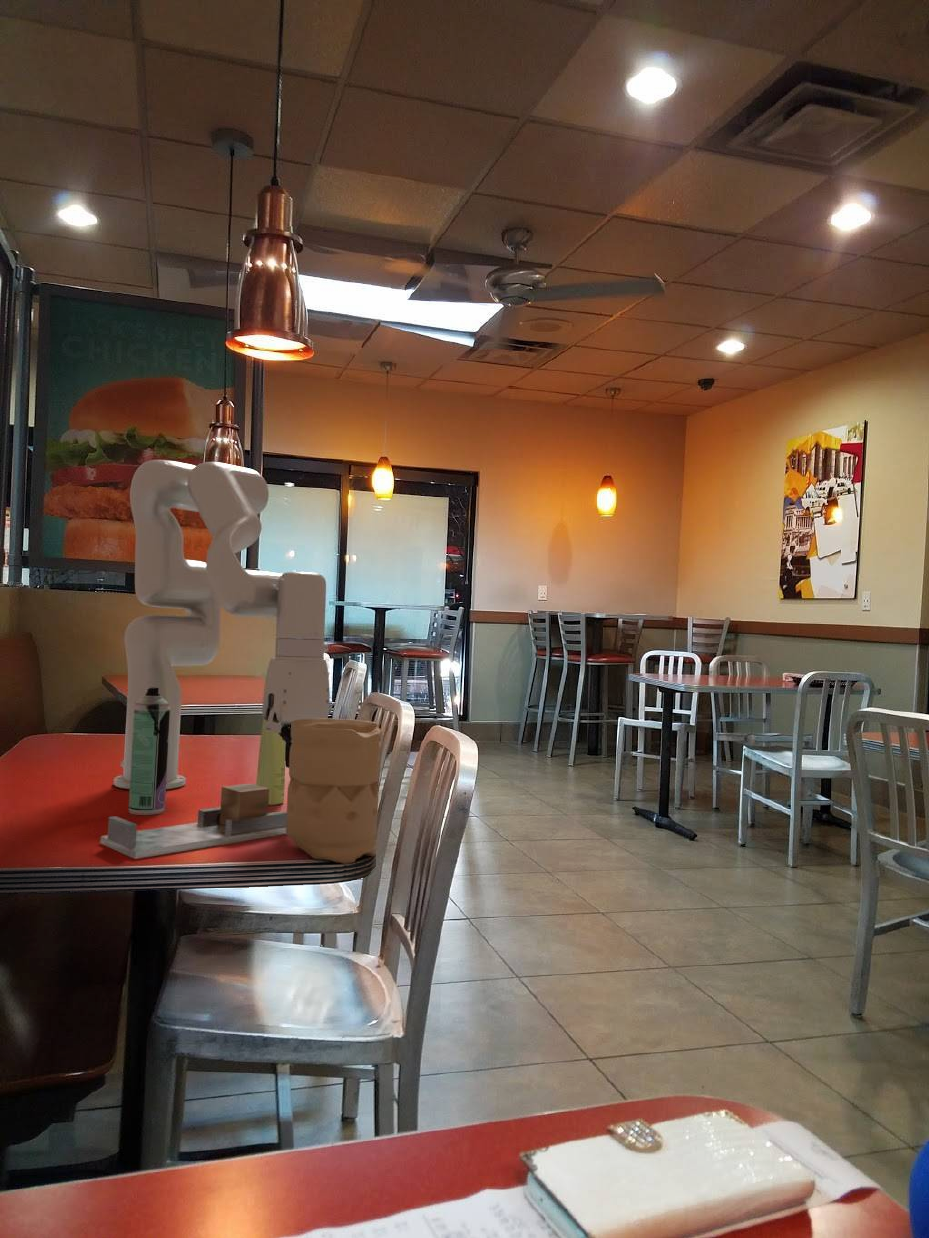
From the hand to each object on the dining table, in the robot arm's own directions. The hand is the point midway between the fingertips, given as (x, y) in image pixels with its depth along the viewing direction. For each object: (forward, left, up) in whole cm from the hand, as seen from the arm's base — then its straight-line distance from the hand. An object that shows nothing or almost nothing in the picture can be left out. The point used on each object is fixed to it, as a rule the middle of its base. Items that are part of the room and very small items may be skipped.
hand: (295, 767), depth 138 cm
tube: (-16, +6, -9) cm, 19 cm away
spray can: (-21, -14, -9) cm, 26 cm away
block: (-1, -9, -8) cm, 12 cm away
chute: (-1, -16, -9) cm, 18 cm away
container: (+16, -6, -9) cm, 20 cm away
